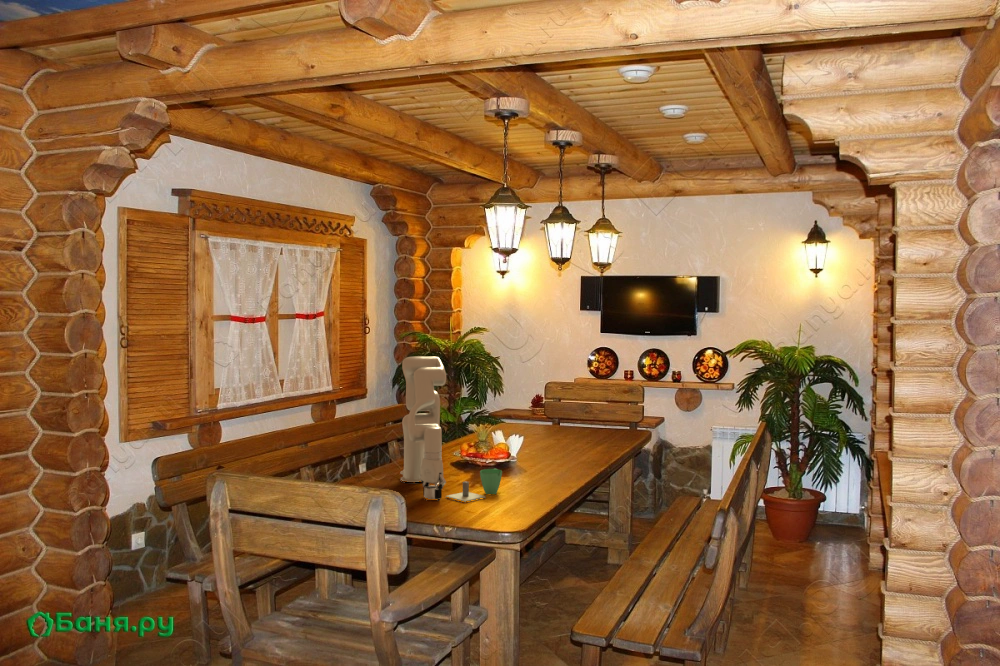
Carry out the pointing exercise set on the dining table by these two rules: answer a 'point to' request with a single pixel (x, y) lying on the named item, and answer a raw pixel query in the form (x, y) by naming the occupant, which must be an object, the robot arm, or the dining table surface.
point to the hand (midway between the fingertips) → (432, 496)
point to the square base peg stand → (465, 494)
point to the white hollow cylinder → (429, 492)
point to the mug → (490, 480)
